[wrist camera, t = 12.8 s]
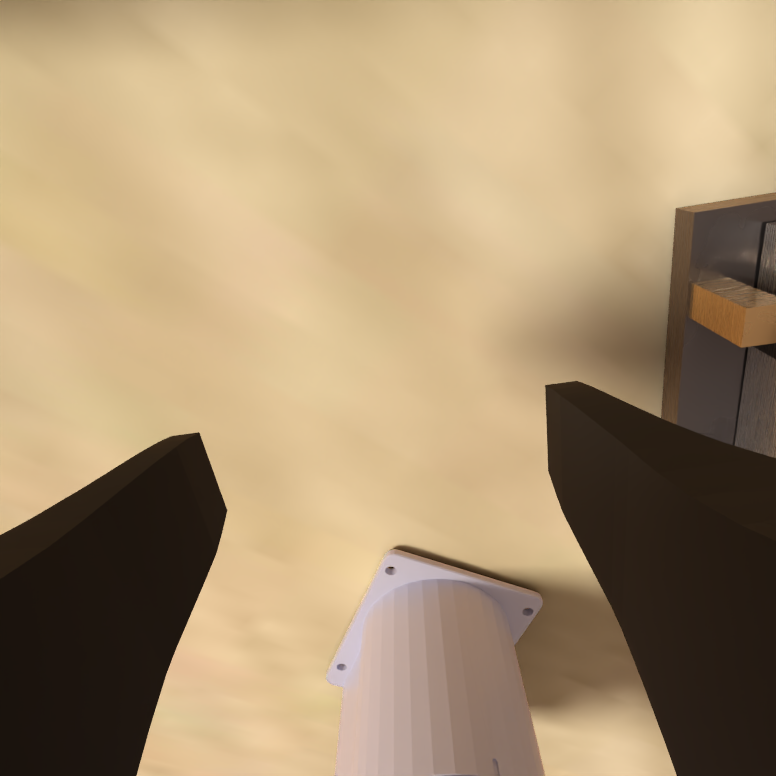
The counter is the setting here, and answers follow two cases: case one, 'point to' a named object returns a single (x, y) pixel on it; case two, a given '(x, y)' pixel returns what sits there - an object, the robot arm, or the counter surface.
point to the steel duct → (760, 371)
